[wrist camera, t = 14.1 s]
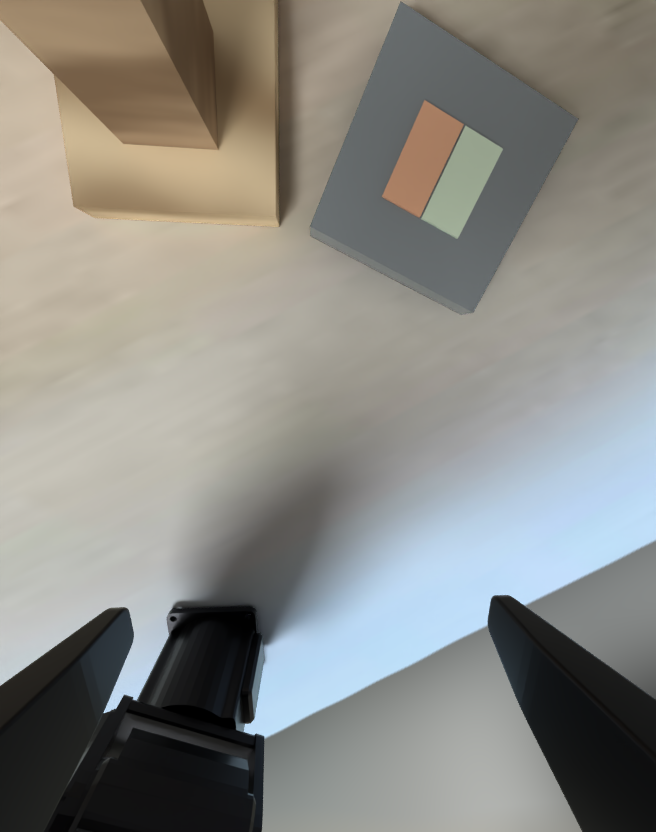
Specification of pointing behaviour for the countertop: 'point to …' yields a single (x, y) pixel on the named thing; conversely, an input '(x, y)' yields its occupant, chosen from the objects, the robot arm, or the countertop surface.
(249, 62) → the light wooden board
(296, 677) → the countertop surface
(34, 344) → the countertop surface
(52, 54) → the walnut block
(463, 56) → the plate
